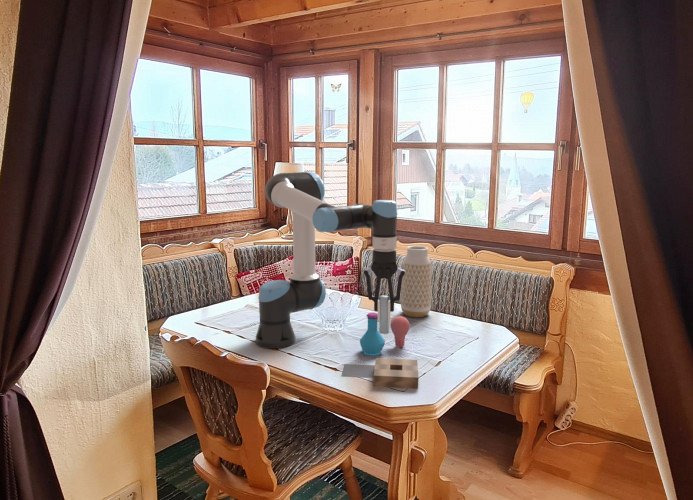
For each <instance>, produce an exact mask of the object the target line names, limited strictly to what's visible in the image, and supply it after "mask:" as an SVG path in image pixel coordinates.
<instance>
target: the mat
mask: <svg viewBox="0 0 693 500" xmlns="http://www.w3.org/2000/svg"><path fill="white" fill-rule="evenodd" d="M374 369H375V364H352V363H344V364H343V367H342V371H341V374H340V375H341V377H347V378H364V379H365V378H367V379H369V378H370V379H374Z"/></svg>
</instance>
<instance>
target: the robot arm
mask: <svg viewBox="0 0 693 500" xmlns="http://www.w3.org/2000/svg"><path fill="white" fill-rule="evenodd" d="M325 192H326V189H325V185H324V181H323V180H322V178H321V176H320V175H318V173H316V172H311V171H310V172H309V171H302V172H280V173H276V174H274V175H273V176H271V177H270V178H269V179H268V180H267V182H266V185H265V188H264V194H265V197H266V199H267V200H268V201H269V203H271V204H272V205H274V206H276V207H278V208H280V209H281V208H282V209H283V208H286V209H288V210H289V211H291V212H292V213H291V215H292V247H293V249H292V251H293V254H292V255H293V272H292V274H291V275H290V276H289V281H287V280H286V279H276V280H275V279H274V280H270V281H267V282H265V283H263V284H261V286H260V287H259V290H258V308H259V309H258V311H259V325H258V329H257V331H256V334H255V344H256V345H257V346H259V347H260V348H264V349H282V348H288V347H289V346H292V345H293V344H294V343H295V342H296V334H295V331H294V329H293V327H292V323H291V314H292V313H298V312H302V311H307V310H313V309H315V308H319V307H320V306H321V305H322V304H323V303H324V302H325V299H326V296H327V295H326V294H327V290H326V286H325V283H324V281H323V279H321V278H320V275H319V274H318V273H317V272H316V270H317V269H316V268H317V267H316V231H317V232H320V233H332V232H337V231H346V230H355V229H364V228H365V229H370V230H372V249H373V250H372V264H371V266H370V267H368V268H364V270H363V275H364V276H365V280H366V287H367V289H366V291H367V297H368V300H369V301H373V303H374V304H373V310H374V312H377V314H378V322H377V323H379V322H380V302H379V296H380V295H379V294H380V289H381V288H380V287H381V283H382V279H383V280H384V279H385V280H386V281H387V285H388V294H389V295H388V296H389V302H388V322H389V323H391V312H392V313H394V311H395V302H398V301H400V300H401V288H402V278H403V276H404V274H405V270H404V269H403V268H400V267H399V266H398V264H397V250H396V249H397V242H398V241H397V239H398V238H397V230H398V229H397V226H398V225H397V224H398V223H397V222H398V220H397V219H398V210H397V208H398V205H397V202H396V201H395V200H390V199H377V200H374V201H373V202H372V204H365V203H353V204H352V205H342V206H334V205H332V204H329V203H327V202H326V201H323V200H324V197H325V194H326V193H325ZM372 273H373V274H374V275H375V277H376V284H375V291H374V293H373V287H372V278H371V277H372V276H371V275H372ZM395 273H397V276H398V279H397V287H396V293H395V294H396V295H394V287H393V276H395V275H394V274H395ZM373 294H374V295H373Z"/></svg>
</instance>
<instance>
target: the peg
mask: <svg viewBox="0 0 693 500" xmlns="http://www.w3.org/2000/svg"><path fill="white" fill-rule="evenodd" d="M378 300H379V302H380V322H378V323H379V324H378V325H379V327H378V332H379V333H380V335H387V334H389V328H390V327H389V326H390V325H389V324H390V322H388V302H389V300H390V296H389V295H383V294H382V295H379V297H378Z"/></svg>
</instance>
